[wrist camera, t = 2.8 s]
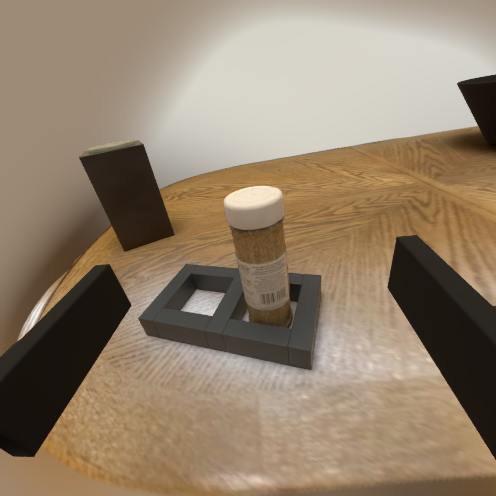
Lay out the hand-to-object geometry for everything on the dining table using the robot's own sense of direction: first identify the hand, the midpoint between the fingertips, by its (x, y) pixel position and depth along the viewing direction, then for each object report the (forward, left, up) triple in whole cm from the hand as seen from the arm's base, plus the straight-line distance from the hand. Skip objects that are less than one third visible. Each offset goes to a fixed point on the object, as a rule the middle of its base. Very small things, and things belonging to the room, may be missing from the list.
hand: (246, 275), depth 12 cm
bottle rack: (+2, +10, -13) cm, 16 cm away
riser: (-5, +40, -13) cm, 42 cm away
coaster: (-5, +40, +3) cm, 40 cm away
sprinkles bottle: (+4, +8, -13) cm, 15 cm away
